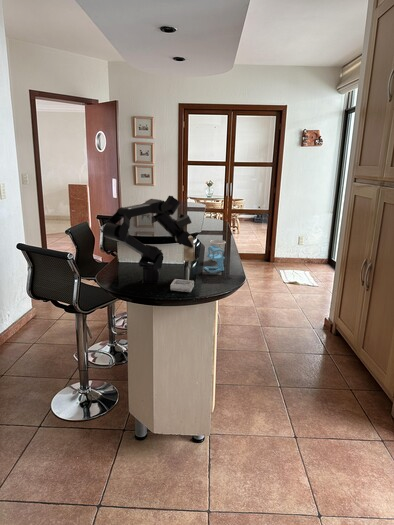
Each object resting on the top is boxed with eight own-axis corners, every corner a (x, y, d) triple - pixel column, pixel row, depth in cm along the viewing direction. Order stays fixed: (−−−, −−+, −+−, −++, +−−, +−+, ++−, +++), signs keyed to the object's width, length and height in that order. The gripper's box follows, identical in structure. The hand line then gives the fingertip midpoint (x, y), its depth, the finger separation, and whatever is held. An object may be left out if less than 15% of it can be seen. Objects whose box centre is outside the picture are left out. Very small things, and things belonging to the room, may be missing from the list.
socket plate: (170, 290, 149) (170, 284, 149) (174, 284, 156) (174, 278, 155) (190, 292, 148) (190, 286, 147) (193, 286, 155) (194, 280, 154)
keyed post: (185, 261, 165) (185, 237, 162) (183, 259, 168) (183, 235, 165) (195, 261, 166) (195, 237, 163) (193, 258, 169) (193, 235, 166)
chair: (226, 272, 175) (227, 247, 172) (210, 273, 172) (211, 248, 168) (219, 267, 182) (220, 243, 178) (203, 268, 179) (205, 244, 175)
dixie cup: (218, 263, 189) (219, 244, 186) (205, 259, 193) (206, 241, 190) (227, 259, 195) (228, 241, 192) (214, 256, 200) (215, 238, 197)
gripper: (185, 212, 151) (210, 237, 157) (175, 206, 168) (198, 229, 174) (166, 231, 151) (191, 256, 157) (158, 223, 168) (181, 245, 174)
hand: (191, 246), depth 166 cm, fingers closed on keyed post, 3 cm apart
